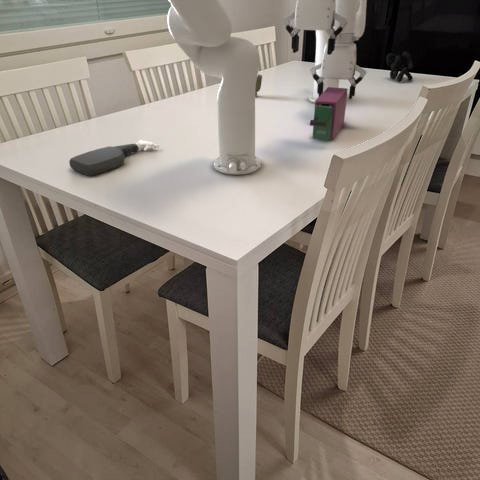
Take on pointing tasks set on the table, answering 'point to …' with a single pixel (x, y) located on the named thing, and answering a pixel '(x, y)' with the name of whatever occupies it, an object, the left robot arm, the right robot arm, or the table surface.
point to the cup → (258, 83)
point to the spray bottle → (106, 157)
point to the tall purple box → (339, 101)
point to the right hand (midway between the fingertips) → (335, 97)
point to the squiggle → (399, 66)
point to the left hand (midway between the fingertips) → (312, 52)
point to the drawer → (322, 121)
